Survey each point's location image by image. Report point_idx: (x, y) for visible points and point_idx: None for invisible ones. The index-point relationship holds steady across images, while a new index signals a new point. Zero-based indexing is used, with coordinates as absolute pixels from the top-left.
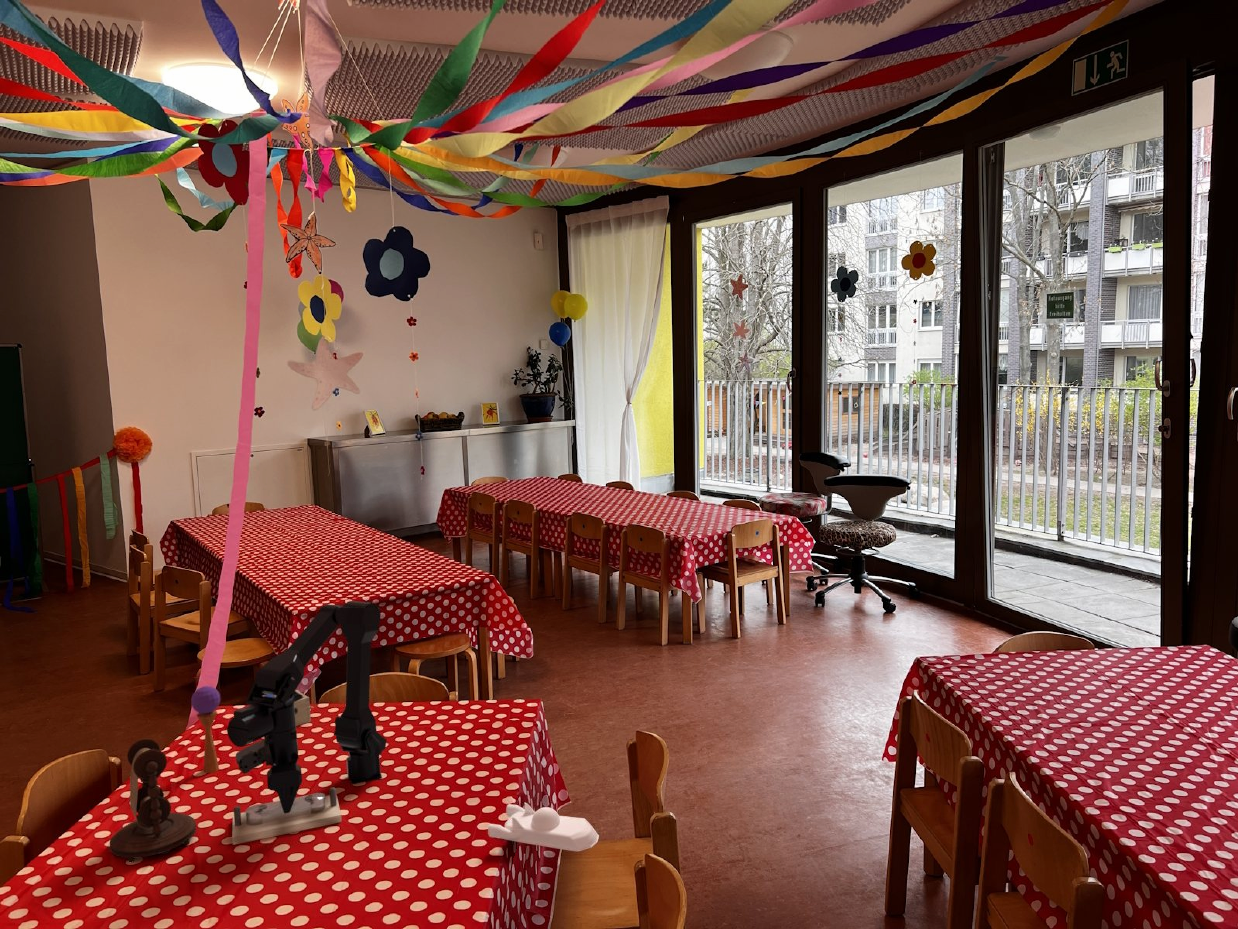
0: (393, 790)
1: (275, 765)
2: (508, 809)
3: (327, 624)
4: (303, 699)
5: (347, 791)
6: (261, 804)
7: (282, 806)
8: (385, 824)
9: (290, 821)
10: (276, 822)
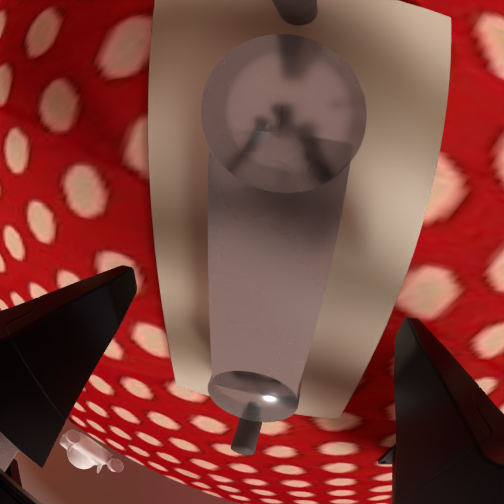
0: (300, 461)
1: (487, 491)
2: (109, 465)
3: None
4: None
5: (378, 422)
6: (345, 161)
7: (81, 283)
8: (144, 406)
9: (191, 261)
10: None
